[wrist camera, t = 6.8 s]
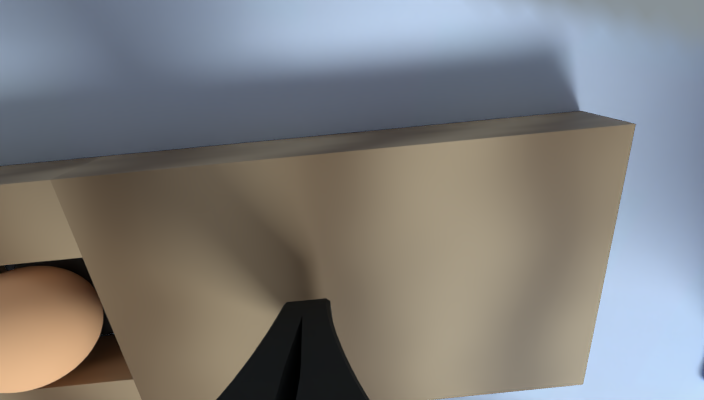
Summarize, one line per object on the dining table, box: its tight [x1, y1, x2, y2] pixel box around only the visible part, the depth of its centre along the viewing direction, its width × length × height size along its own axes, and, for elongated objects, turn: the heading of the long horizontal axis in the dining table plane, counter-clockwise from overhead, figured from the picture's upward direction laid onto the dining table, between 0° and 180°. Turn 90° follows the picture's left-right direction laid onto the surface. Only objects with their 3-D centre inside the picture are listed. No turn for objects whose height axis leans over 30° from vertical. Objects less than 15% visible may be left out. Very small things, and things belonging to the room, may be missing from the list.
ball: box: [0, 266, 103, 393], centre depth 12 cm, size 4×4×4 cm
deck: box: [0, 111, 636, 400], centre depth 13 cm, size 24×10×2 cm, turn 95°
